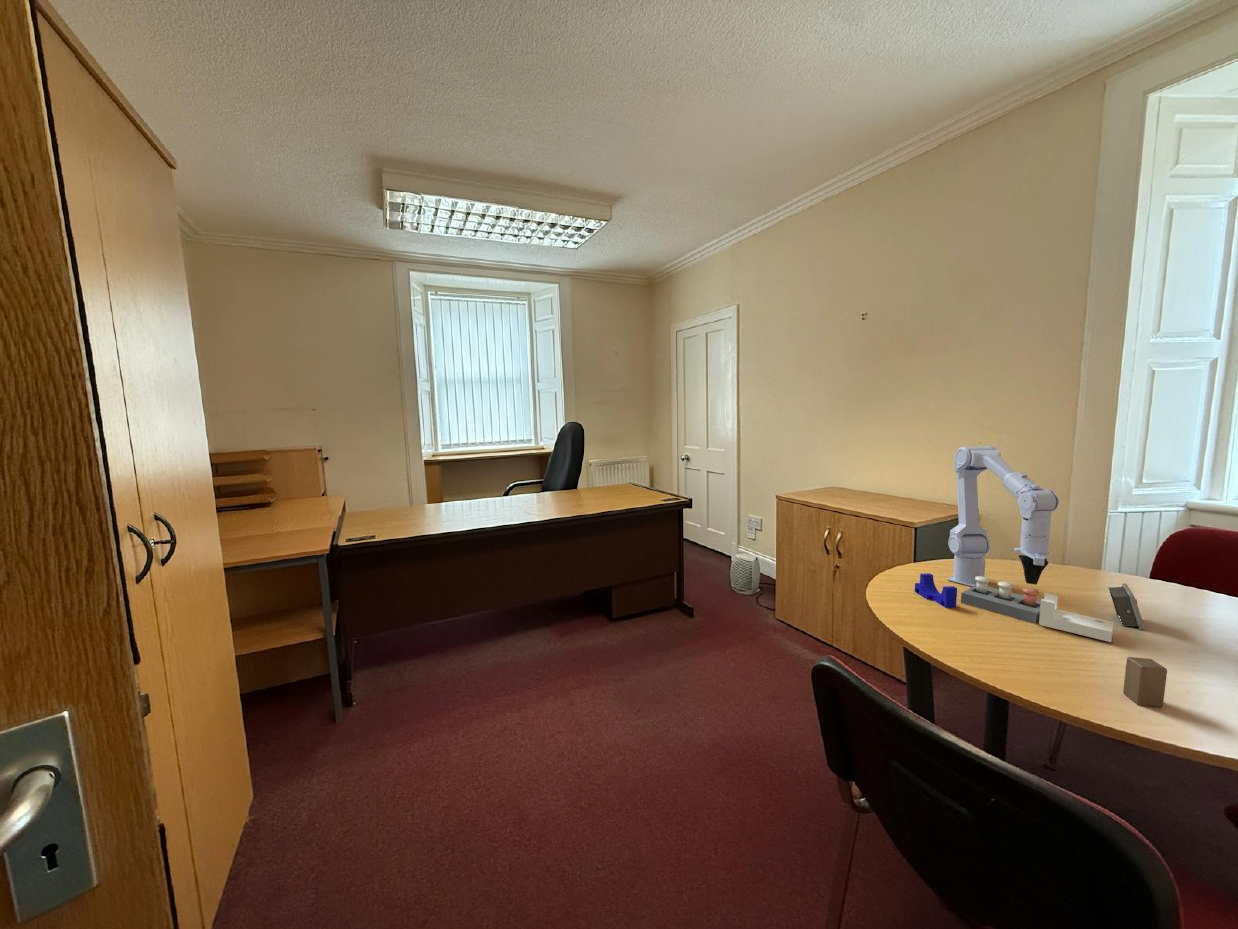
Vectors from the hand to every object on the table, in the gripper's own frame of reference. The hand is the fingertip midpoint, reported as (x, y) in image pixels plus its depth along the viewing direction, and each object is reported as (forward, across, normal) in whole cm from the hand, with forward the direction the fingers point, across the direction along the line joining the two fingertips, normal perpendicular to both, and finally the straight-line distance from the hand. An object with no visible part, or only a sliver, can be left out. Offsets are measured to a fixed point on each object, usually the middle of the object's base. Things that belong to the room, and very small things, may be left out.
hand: (1031, 583), depth 129 cm
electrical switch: (+9, -6, +20) cm, 23 cm away
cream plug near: (+6, -5, -10) cm, 12 cm away
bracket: (+9, +6, +8) cm, 14 cm away
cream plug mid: (+6, -2, -5) cm, 8 cm away
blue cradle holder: (+9, 0, -22) cm, 23 cm away
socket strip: (+9, -2, -5) cm, 10 cm away
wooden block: (+9, +37, +11) cm, 40 cm away
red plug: (+6, 0, 0) cm, 6 cm away
